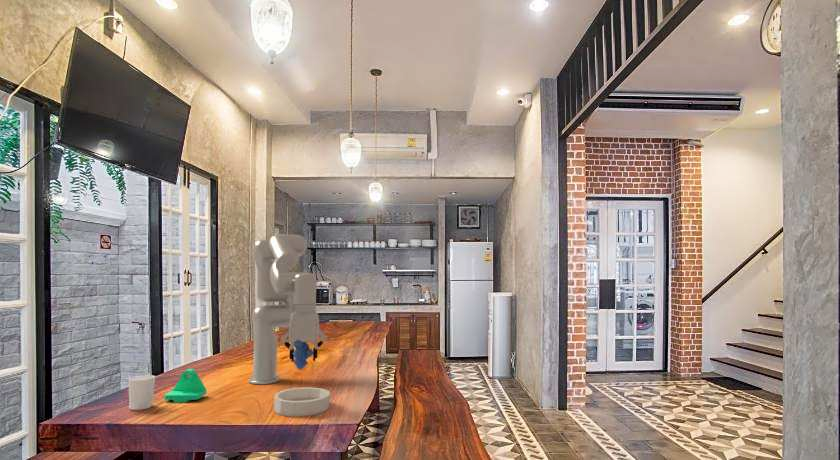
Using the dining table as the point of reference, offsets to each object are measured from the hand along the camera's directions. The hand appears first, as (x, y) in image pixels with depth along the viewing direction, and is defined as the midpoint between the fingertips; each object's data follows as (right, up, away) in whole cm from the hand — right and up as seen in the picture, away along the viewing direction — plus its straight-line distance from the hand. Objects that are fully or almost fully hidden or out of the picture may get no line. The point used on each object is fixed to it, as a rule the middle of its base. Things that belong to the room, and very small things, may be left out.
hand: (303, 360), depth 165 cm
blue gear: (0, -3, 0) cm, 3 cm away
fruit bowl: (0, -16, -1) cm, 16 cm away
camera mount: (-45, -17, +8) cm, 49 cm away
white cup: (-55, -16, -2) cm, 58 cm away
